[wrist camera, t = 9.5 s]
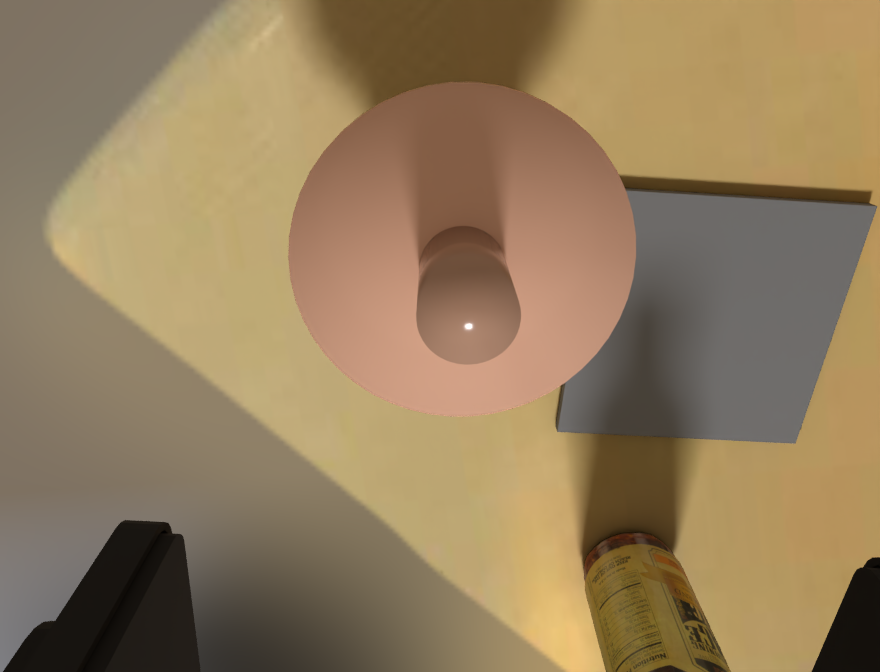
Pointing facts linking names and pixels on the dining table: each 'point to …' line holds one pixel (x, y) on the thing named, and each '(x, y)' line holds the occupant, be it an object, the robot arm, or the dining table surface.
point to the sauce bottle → (647, 609)
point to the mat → (721, 318)
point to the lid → (462, 249)
